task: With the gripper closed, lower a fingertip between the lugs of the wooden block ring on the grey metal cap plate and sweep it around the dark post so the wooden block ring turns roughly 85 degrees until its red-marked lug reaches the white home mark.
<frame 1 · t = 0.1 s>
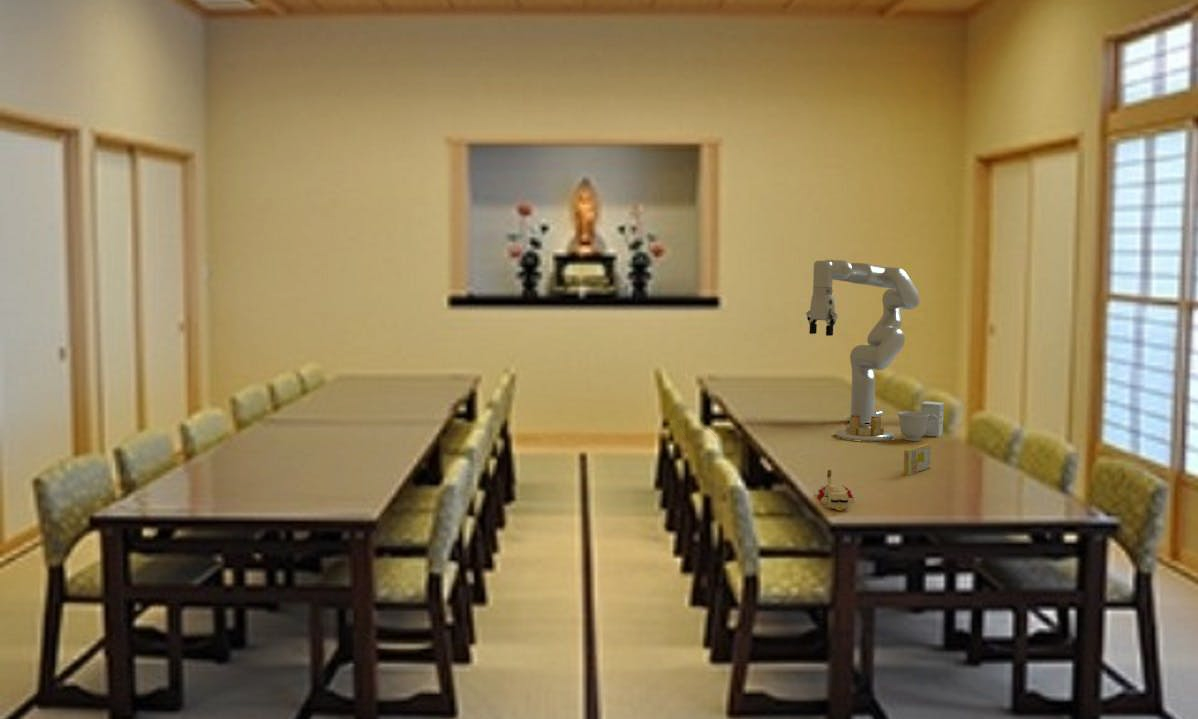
hand: (821, 334, 498), 37 cm above the table, tool pointing down, fingers open, 9 cm apart
supplement box: (931, 435, 482), on the table
teacup: (916, 440, 470), on the table
cap plate: (864, 437, 475), on the table
cat figure: (833, 504, 356), on the table
wooden block ring: (865, 424, 474), point 5 cm above the table, hinge at 0.0°
candy box: (916, 472, 406), on the table
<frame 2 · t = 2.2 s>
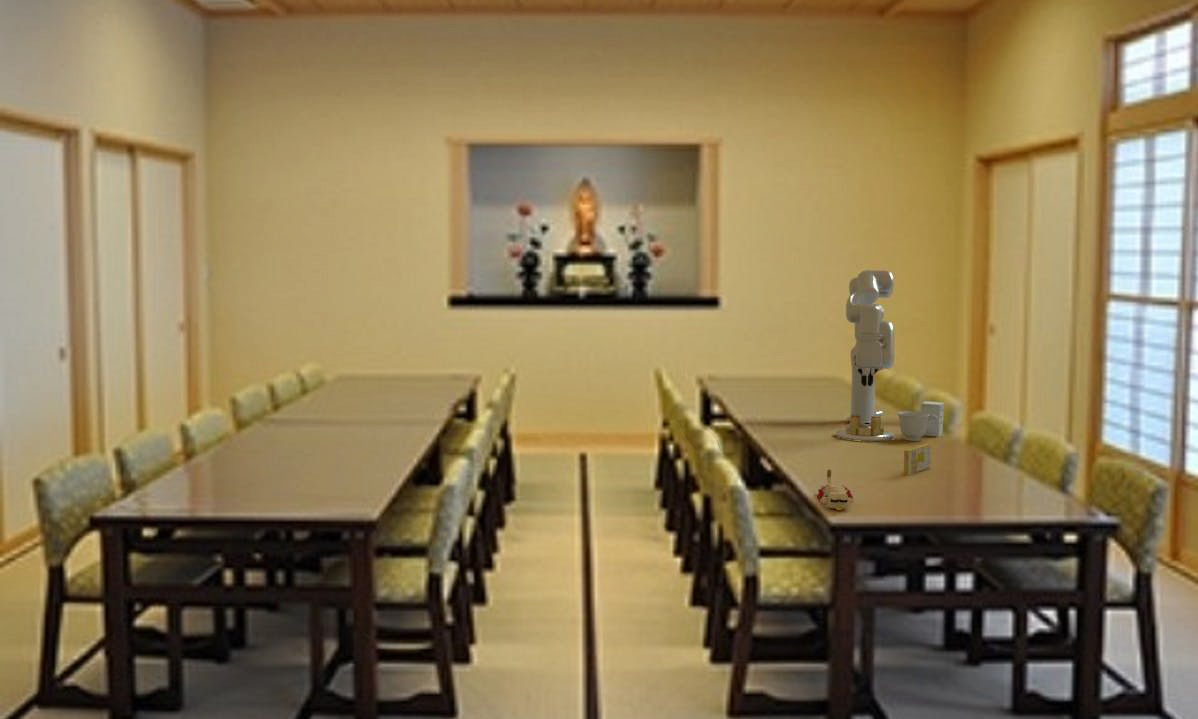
hand: (866, 385, 478), 19 cm above the table, tool pointing down, fingers closed
nothing on the table moved.
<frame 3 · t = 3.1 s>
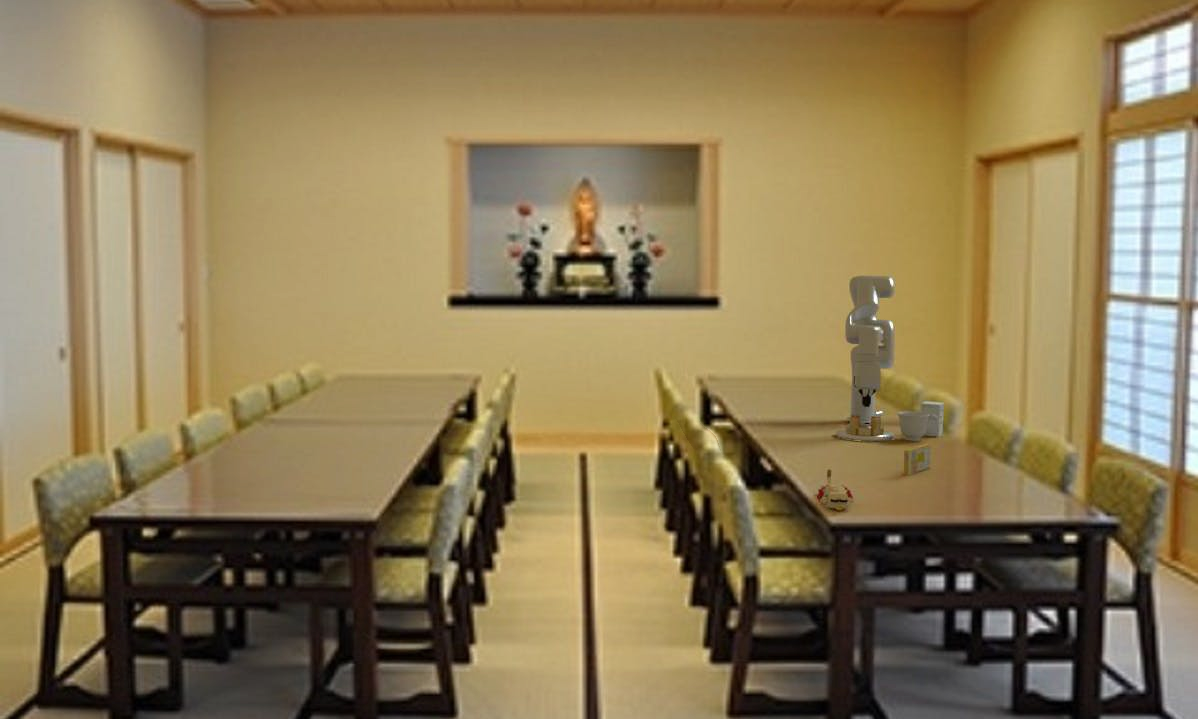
hand: (866, 406, 478), 11 cm above the table, tool pointing down, fingers closed
nothing on the table moved.
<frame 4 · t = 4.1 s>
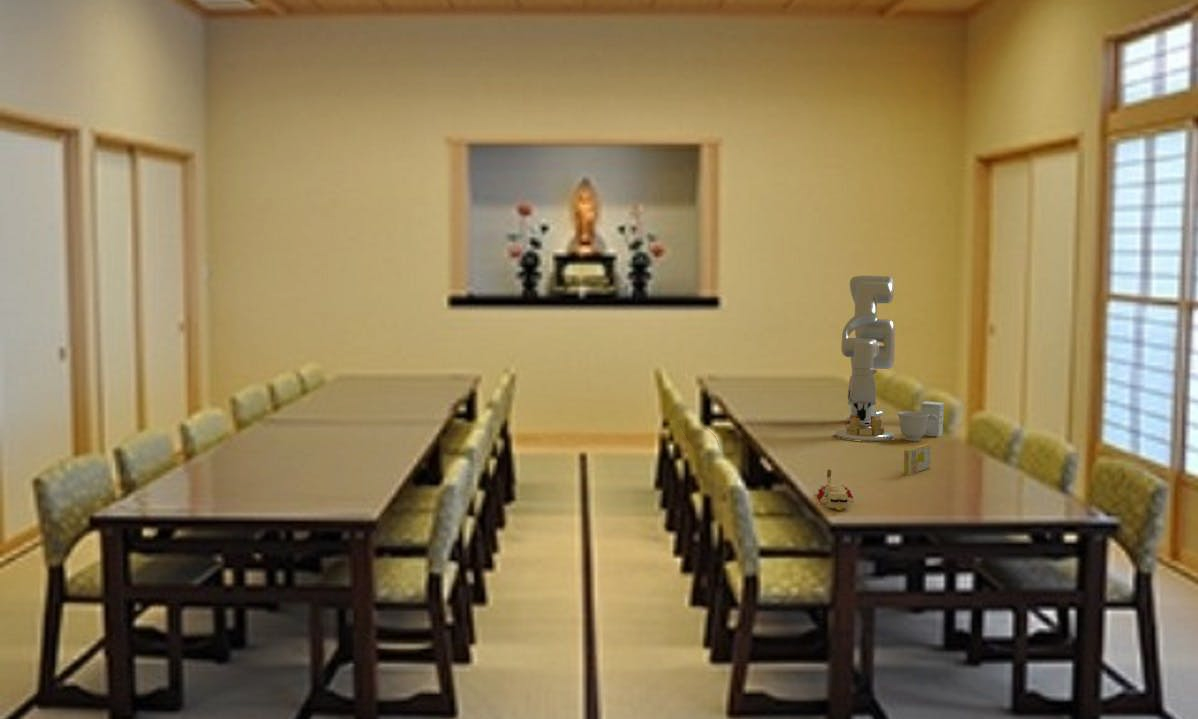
hand: (861, 420, 479), 6 cm above the table, tool pointing down, fingers closed
wooden block ring: (865, 424, 474), point 5 cm above the table, hinge at 3.5°, touching gripper
everything else where it was.
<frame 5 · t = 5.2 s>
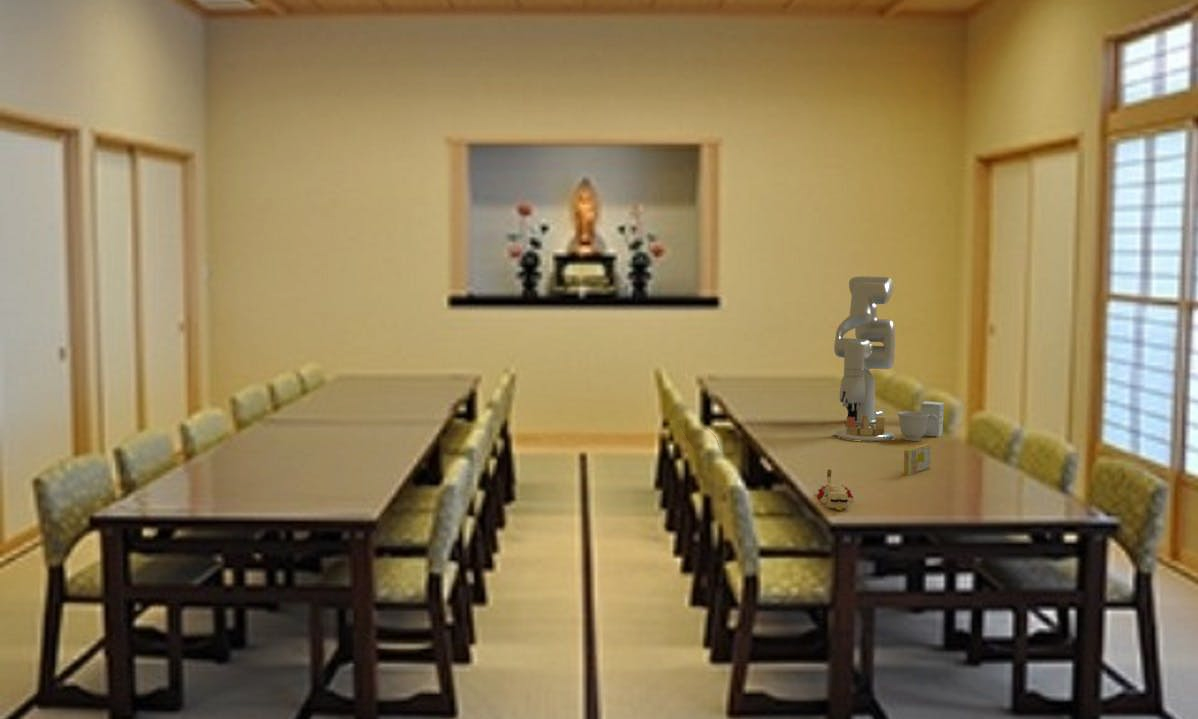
hand: (852, 420, 478), 6 cm above the table, tool pointing down, fingers closed
wooden block ring: (865, 424, 474), point 5 cm above the table, hinge at 50.6°, touching gripper
everything else where it was.
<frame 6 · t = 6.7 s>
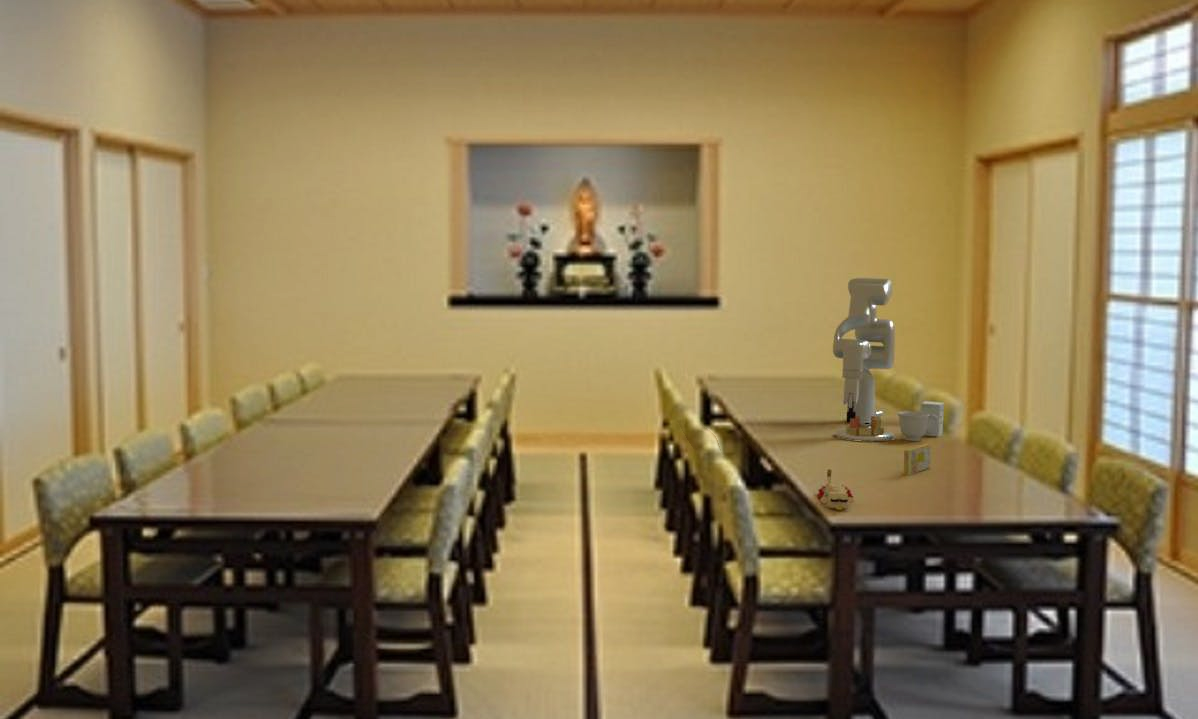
hand: (850, 422, 474), 6 cm above the table, tool pointing down, fingers closed
wooden block ring: (865, 424, 474), point 5 cm above the table, hinge at 91.7°, touching gripper
everything else where it was.
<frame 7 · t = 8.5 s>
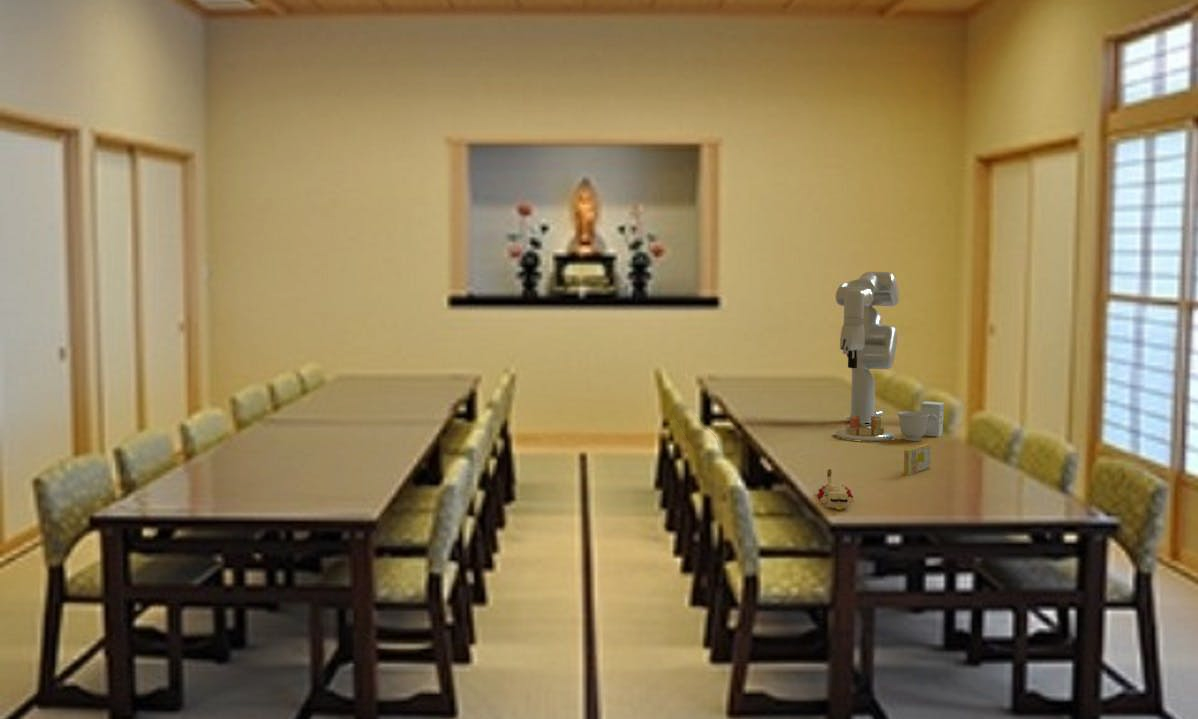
hand: (852, 367, 488), 25 cm above the table, tool pointing down, fingers closed
wooden block ring: (865, 424, 474), point 5 cm above the table, hinge at 91.7°
everything else where it was.
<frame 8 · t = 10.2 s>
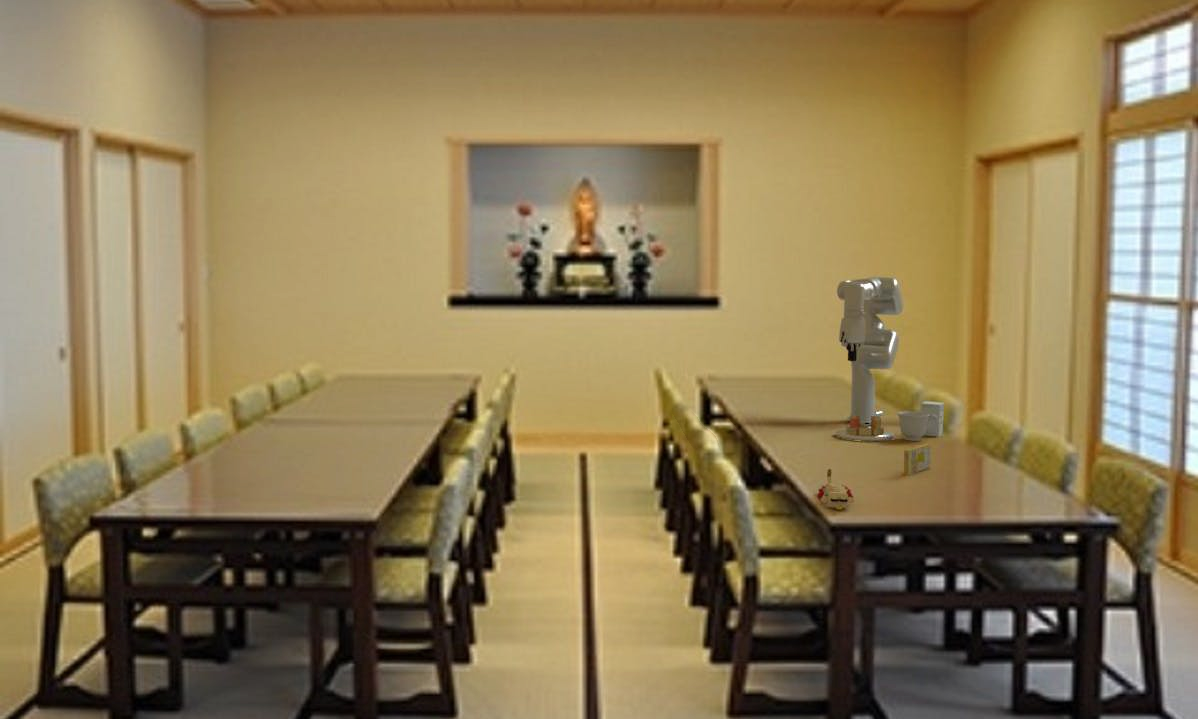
hand: (852, 360, 492), 27 cm above the table, tool pointing down, fingers closed
at the end: wooden block ring at +92° (first picture: +0°); wooden block ring touching nothing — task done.
